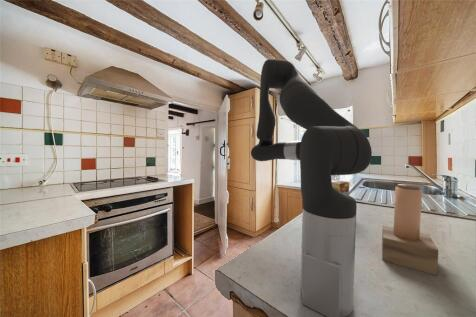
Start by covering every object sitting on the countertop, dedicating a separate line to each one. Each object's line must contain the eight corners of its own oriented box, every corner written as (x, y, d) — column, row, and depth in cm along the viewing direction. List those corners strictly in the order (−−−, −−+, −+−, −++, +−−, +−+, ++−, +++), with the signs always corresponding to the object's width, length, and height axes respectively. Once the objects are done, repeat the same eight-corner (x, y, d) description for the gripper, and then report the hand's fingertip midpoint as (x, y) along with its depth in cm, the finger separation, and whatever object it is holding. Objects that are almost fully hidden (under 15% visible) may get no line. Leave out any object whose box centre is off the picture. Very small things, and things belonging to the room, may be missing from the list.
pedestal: (437, 275, 43) (438, 250, 42) (382, 259, 49) (383, 237, 48) (428, 256, 50) (429, 234, 50) (381, 244, 57) (382, 225, 56)
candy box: (338, 219, 78) (339, 183, 77) (328, 216, 82) (329, 182, 81) (348, 215, 83) (350, 181, 82) (339, 212, 87) (340, 180, 86)
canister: (421, 242, 46) (424, 187, 45) (393, 236, 49) (396, 185, 48) (417, 235, 50) (420, 185, 49) (392, 230, 53) (395, 182, 52)
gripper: (291, 139, 66) (342, 137, 56) (304, 142, 77) (348, 140, 68) (291, 160, 66) (342, 161, 56) (303, 159, 78) (348, 160, 68)
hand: (345, 150), depth 62 cm, fingers open, 8 cm apart
